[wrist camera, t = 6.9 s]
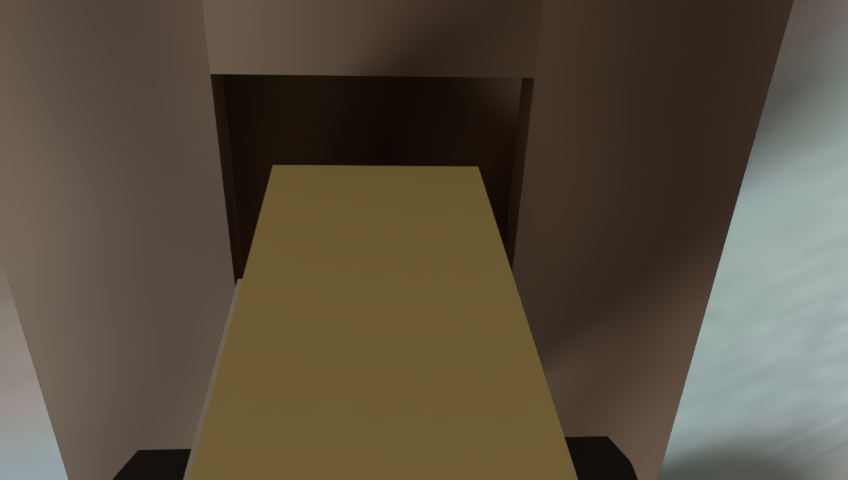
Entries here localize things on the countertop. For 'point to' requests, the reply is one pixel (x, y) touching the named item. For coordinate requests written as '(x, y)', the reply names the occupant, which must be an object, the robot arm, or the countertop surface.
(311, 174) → the yellow rectangular block
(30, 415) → the countertop surface
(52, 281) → the brown wooden slotted box
